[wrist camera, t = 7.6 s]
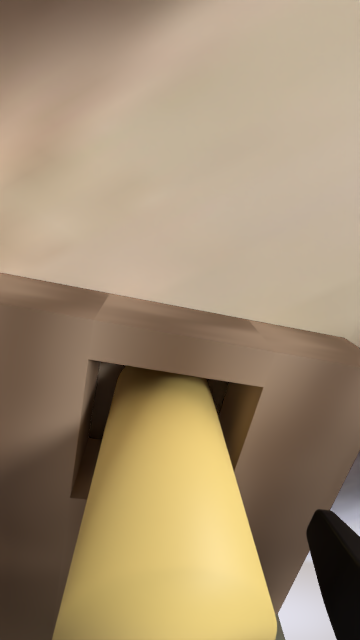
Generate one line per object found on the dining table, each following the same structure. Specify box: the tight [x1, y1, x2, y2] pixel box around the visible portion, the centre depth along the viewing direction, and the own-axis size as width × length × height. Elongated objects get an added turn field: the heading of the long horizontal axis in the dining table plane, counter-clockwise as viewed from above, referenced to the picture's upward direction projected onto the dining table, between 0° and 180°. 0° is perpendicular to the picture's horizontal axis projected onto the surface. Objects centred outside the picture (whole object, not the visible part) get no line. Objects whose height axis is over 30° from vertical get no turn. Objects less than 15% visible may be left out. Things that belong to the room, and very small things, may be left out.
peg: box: [52, 366, 277, 640], centre depth 9 cm, size 4×4×8 cm
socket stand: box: [0, 273, 360, 640], centre depth 10 cm, size 14×18×10 cm
